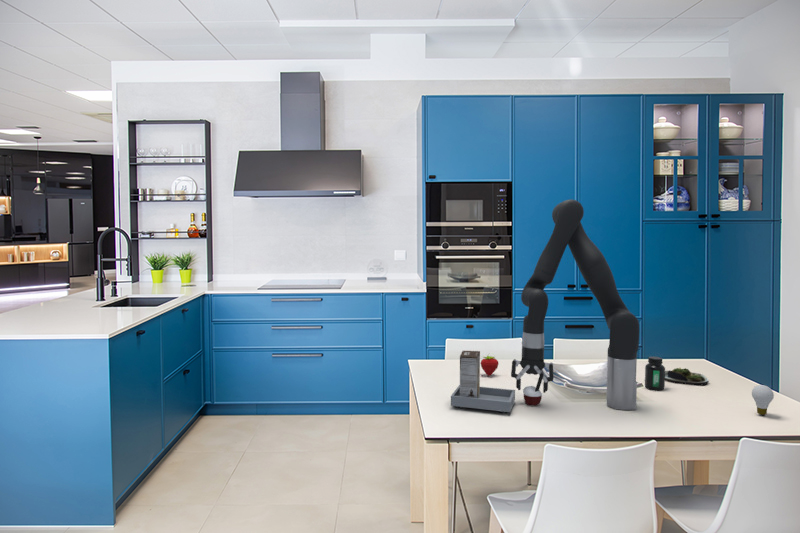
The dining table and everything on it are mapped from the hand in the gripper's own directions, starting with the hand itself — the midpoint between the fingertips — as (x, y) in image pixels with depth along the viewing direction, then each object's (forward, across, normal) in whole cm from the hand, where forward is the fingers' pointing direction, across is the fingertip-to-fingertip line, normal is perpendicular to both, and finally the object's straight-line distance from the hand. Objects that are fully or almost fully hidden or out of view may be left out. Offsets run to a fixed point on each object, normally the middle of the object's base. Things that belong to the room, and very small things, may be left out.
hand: (531, 390), depth 178 cm
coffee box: (+3, +20, +7) cm, 22 cm away
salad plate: (+4, -56, -52) cm, 76 cm away
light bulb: (+4, -72, -13) cm, 74 cm away
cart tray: (+5, +16, +7) cm, 18 cm away
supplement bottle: (+4, -43, -34) cm, 55 cm away
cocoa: (+5, 0, 0) cm, 5 cm away
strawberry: (+5, +20, -31) cm, 37 cm away
